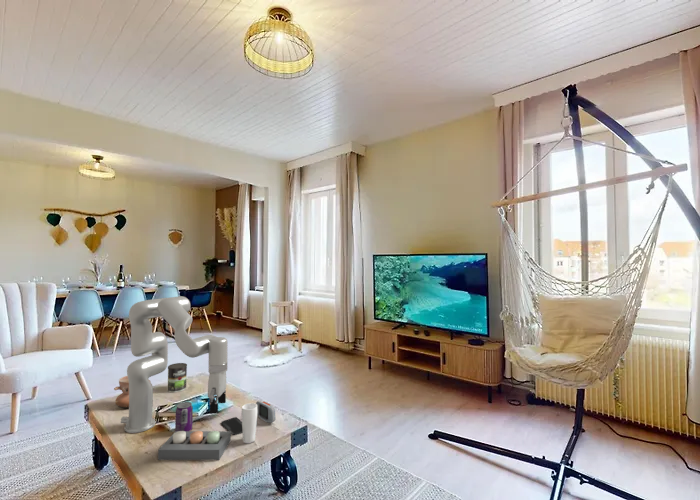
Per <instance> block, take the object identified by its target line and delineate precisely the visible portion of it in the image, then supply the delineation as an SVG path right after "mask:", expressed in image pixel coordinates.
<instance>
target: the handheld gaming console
mask: <svg viewBox="0 0 700 500" xmlns="http://www.w3.org/2000/svg"><path fill="white" fill-rule="evenodd" d="M255 404H257V408H258V413H257V417H258V418H260V419H261V420H262V421H264V422H266V423H273V422H275V421H276V409H275V407H273V406H272V405H271V404H270V403H268V402H266V401H262V400H258V401H256V402H255Z"/></svg>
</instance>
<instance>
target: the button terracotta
mask: <svg viewBox="0 0 700 500" xmlns="http://www.w3.org/2000/svg"><path fill="white" fill-rule="evenodd" d="M202 441H203V432H202V431H201V430H195V432H193V433H191V434H190V444H201V443H202Z"/></svg>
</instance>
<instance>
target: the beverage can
mask: <svg viewBox="0 0 700 500" xmlns="http://www.w3.org/2000/svg"><path fill="white" fill-rule="evenodd" d="M193 409H194V407H193V405H192V402H191V401H183V402H181V403H180V402H179V403H178V404H177V405H176V408H175V418H174V419H175V422H174V423H175V426H174V427H175V429H174V430H175V431H192V430H193V417H194V415H193ZM175 431H174V432H175Z"/></svg>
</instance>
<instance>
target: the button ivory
mask: <svg viewBox="0 0 700 500" xmlns="http://www.w3.org/2000/svg"><path fill="white" fill-rule="evenodd" d="M172 435H173V444H184V442H185V441H186V432H185V431H178V432H176V433H172Z"/></svg>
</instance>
